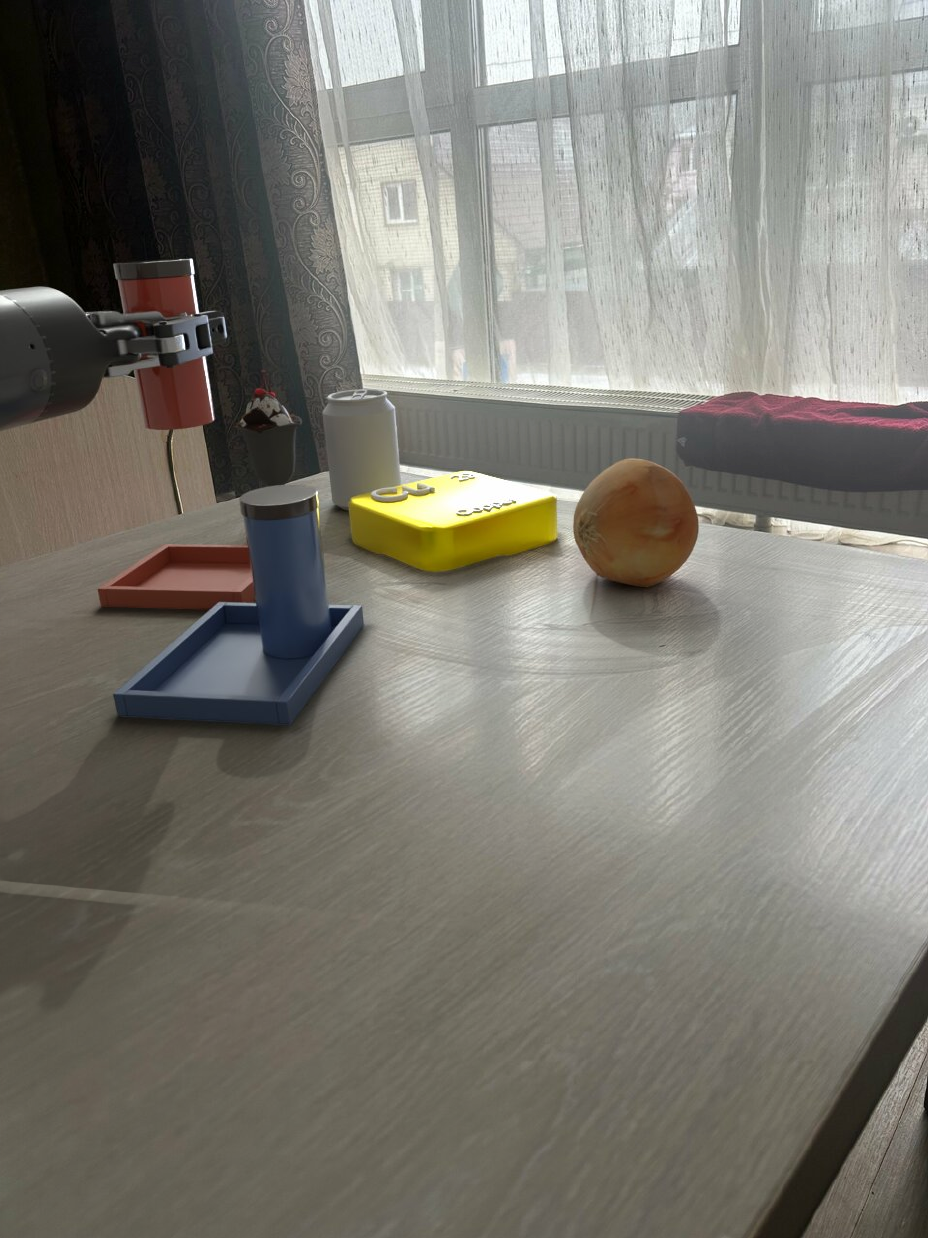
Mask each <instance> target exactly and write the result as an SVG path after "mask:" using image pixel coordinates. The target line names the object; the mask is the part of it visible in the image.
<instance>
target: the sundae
mask: <svg viewBox="0 0 928 1238" xmlns="http://www.w3.org/2000/svg"><path fill="white" fill-rule="evenodd" d="M260 373H261V375H262V382H261V385H260V387H258V388H256V389H254V392H253V393H254V395H253V397H252V398H251V399H250V400H249V401H248V403H247V406H246V409H245V413H243V415H242V416H241V418H240V419H241V420H240V421H238V422H237V423H236V425H235V426H234V428H235V429H237V430H239V431H240V432H241V434H242V437H243V439H244V441H245V444H246V448H247V452H248V455H249V459H250V463H251V466H252V469H253V472H254V474H255V477H256V478H258V479H259V481H261V482H262V484H265V485H267V487H269V486H277V485H287V483H288V482H289V481H290V480H291V478H292V477H293V475H294V474H295V467H296V435H297V428H299V427H300V426H302V425H303V420H302V418H301V417H300V416H297V415H295V414H294V413H292V414H290V413H289V412H288V411H287V409H286V408H285V406H284V405H282V404H281V403H280V402H279V401H278V400H277V399H276V394H275V392H272V389H271V385H270V383H269V380H268V378H267V377H266V375H265V374H266V373H267V372H266V370H265V369H261V370H260ZM265 381H266V385H267V388H268V391H266V390H265V389H264V388H263V387H264V383H265Z"/></svg>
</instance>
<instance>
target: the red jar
mask: <svg viewBox="0 0 928 1238" xmlns="http://www.w3.org/2000/svg"><path fill="white" fill-rule="evenodd" d="M113 270H114V275H115V280H117V285H118V289H119V295H120V301H121V306H122V312H123V313H130V312H139V311H158V312H160V313H161V314H162V315H163V317H166V316H175V315H179V314H178V313H186V314H195V313H200V310H199V302H198V296H197V290H196V282H195V276H194V275H195V273H196V272H195V266H194V260H193V258H190V257H189V258H188V257H187V258H166V259H151V260H137V261H133V260H132V261H122V262H114V263H113ZM129 323H137V325H139V326H140V327H141V329H142V331H143V337H147V336H146V330H145V326H144V324H143V322H142V321H138V322H129ZM147 355H148V354H144V355H143V356H142V357H141V358H145V357H146V356H147ZM133 374H134V379H135V384H136V385H135V386H136V389H137V390H136V391H137V397H138V401H139V402H138V403H139V408H140V413H141V419H142V424H143V427H144V428H145V429H147V430H153V431H173V430H184V429H185V430H186V429H191V428H192V429H193V428H198V427H202V426H205V425H209V424H211V423H213V422H214V421H215V420H216V417H215V409H214V402H213V397H212V390H211V389H212V388H211V382H210V376H209V370H208V364H207V356H206V357H201V358H197V359H194V360H191V361H188V362H185V363H182V364H179V365H174V367H172V368H166V366H156V367H149V368H143V369H136V370H133Z"/></svg>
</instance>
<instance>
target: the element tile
mask: <svg viewBox="0 0 928 1238" xmlns="http://www.w3.org/2000/svg"><path fill="white" fill-rule="evenodd" d="M557 499H558V497H557V496H556V495H555V494H553V493H552V492H549V491H545V490H542V489H538V488H534V487H531V486H527V485H523V484H520V483H516V482H512V481H508V480H504V479H501V478H497V477H493V476H490V475H487V474H483V473H478V472H474V471H470V470H463V471H457V472H452V473H448V474H444V475H439V476H434V477H430V478H427V479H422V480H417V481H414V482H409V483H405V484H401V486H396V487H392V488H381V489H377V490H374V491H373V492H371V493H366V494H362V495H358V496H354V497H352V498H351V499H350V501H349V502H348V505H349V511H348V514H349V523H350V533H351V540H352V543H353V544H354V545H355V546H357V547H360V548H362V549H364V550H367V551H369V552H371V553H373V554H375V555H378V554H379V555H385V556H387V557H389V558H392V559H394V560H397V561H399V562H401V563H404V564H407V565H409V566H411V567H413V568H415V569H418V570H420V571H423V572H424V571H425V572H431V573H432V572H434V573H435V572H436V573H438V572H440V573H441V572H448V571H452V570H456V569H460V568H462V567H466V566H469V565H473V564H476V563H479V562H483V561H487V560H489V559H493V558H496V557H500V556H514V555H518V554H521V553H524V552H527V551H530V550H533V549H537V548H540V547H544V546H546V545H550V544H552V543H554V542H555V541H556V540H557V539H558V501H557Z"/></svg>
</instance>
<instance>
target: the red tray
mask: <svg viewBox="0 0 928 1238" xmlns="http://www.w3.org/2000/svg"><path fill="white" fill-rule="evenodd" d="M97 593H98V597H99V603H100V606H101V607H102V608H104V607H105V608H135V609H136V608H139V609H140V608H142V609H174V610H175V609H178V610H179V609H181V610H210V609H211V608H213V607H214V606H215V605H216V604H217V603H218V602H235V603H254V601H256V600H255V593H254V586H253V579H252V573H251V566H250V559H249V552H248V546H247V544H197V543H196V544H195V543H194V544H192V543H191V544H189V543H187V544H186V543H184V544H183V543H164V544H162V545H161V546H160V547H158V548H157V549H155V550H154V551H151V552H150V554H147V555H146V556H144V557H143V558H142V559H140V560H139V561H136V563H134V564H133V565H131V566H129V567H128V568H127V569H125V570H123V571H122V572H121V573H119V574H118V575H116V576H114V577H113V578H112V579H110V580H108V581H107V582H106V583H104V584H103V585H101V586H100V587H98V588H97Z"/></svg>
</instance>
